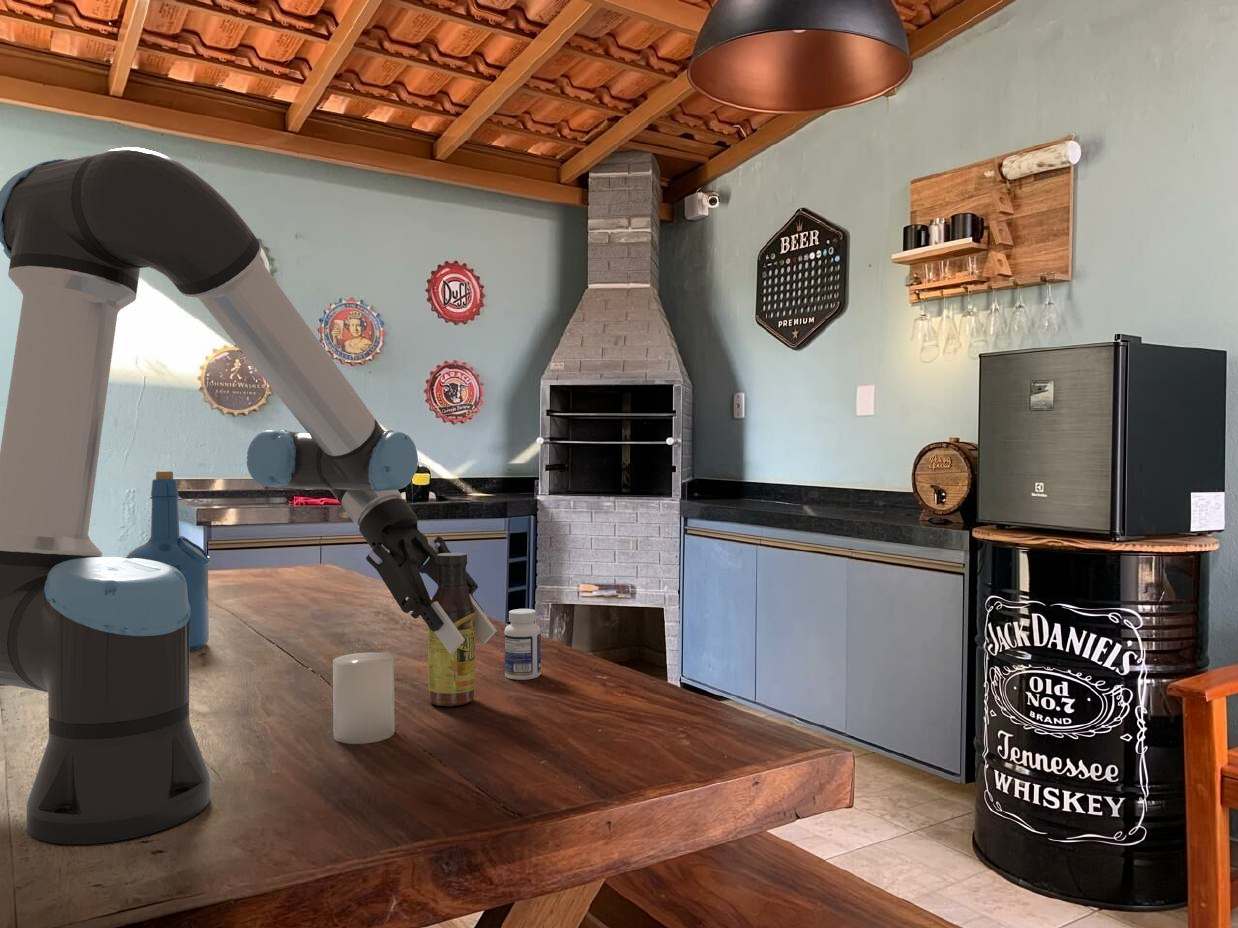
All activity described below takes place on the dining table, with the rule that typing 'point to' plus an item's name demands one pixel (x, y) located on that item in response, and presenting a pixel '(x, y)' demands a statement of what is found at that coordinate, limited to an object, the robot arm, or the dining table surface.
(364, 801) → the dining table surface
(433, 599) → the sauce bottle
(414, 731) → the dining table surface
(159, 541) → the wine bottle
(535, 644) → the pill bottle
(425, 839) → the dining table surface
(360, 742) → the white rounded cylinder
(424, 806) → the dining table surface
